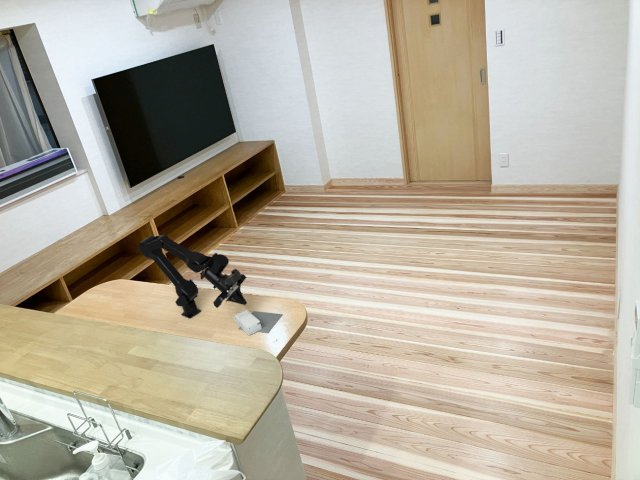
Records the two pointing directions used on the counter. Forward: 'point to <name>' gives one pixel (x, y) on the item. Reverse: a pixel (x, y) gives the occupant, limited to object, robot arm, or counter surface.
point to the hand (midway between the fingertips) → (245, 304)
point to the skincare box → (248, 322)
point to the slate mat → (266, 320)
